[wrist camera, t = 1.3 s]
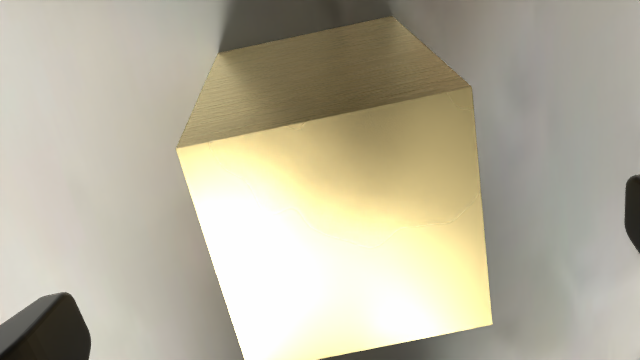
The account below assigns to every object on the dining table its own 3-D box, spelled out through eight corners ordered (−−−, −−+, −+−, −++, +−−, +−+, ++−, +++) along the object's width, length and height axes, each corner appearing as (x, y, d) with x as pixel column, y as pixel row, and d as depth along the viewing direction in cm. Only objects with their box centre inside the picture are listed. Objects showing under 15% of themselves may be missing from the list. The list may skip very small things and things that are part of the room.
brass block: (413, 174, 16) (491, 324, 10) (259, 206, 16) (248, 372, 10) (392, 15, 14) (471, 87, 8) (218, 52, 14) (175, 148, 8)
